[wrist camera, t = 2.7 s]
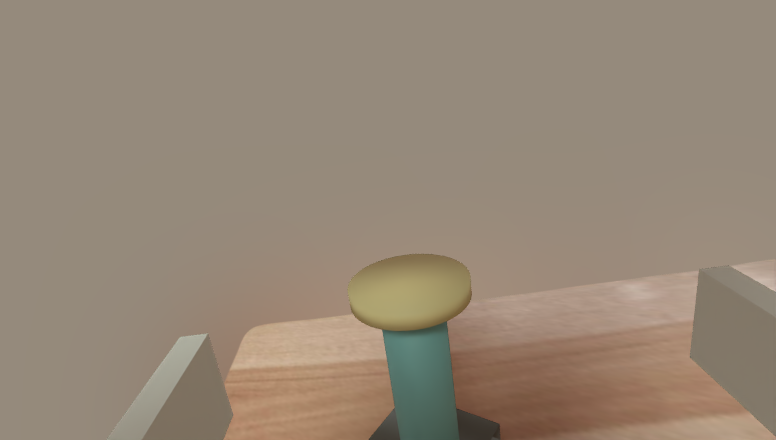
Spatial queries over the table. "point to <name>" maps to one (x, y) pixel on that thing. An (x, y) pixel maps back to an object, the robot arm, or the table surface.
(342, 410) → the table surface
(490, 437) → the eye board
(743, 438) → the table surface
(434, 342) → the disc-capped post
